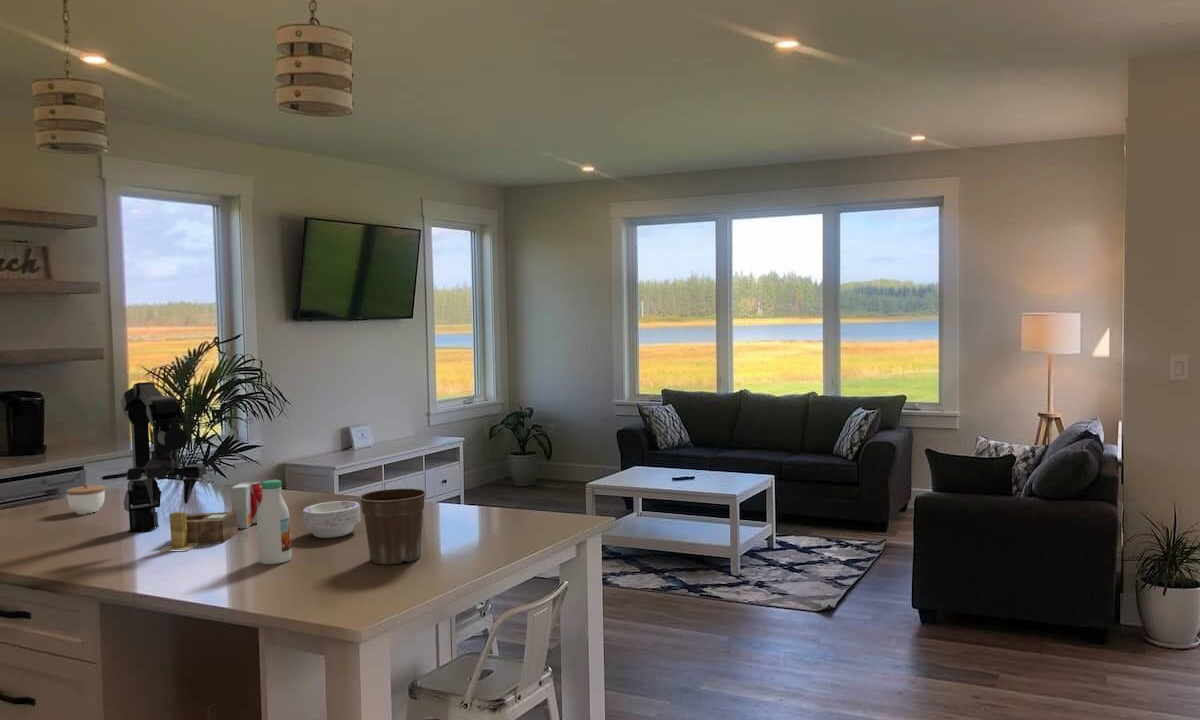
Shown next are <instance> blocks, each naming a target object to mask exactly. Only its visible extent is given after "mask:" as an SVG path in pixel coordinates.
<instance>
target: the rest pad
mask: <svg viewBox="0 0 1200 720" xmlns="http://www.w3.org/2000/svg"><path fill="white" fill-rule="evenodd" d="M197 544H198V543H188V545H187V546H186V547H184V548H172V546H171V544H170V545H168V546H166V547H165V548H163V549H161V550H160V552H161V551H171V550H189V549H191V548H192V547H194V546H195V545H197ZM198 545H199V544H198ZM198 545H197V546H198ZM195 547H196V546H195ZM195 547H194V548H195ZM192 549H193V548H192ZM192 549H191V550H192ZM189 551H190V550H189Z"/></svg>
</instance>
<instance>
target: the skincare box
mask: <svg viewBox="0 0 1200 720" xmlns="http://www.w3.org/2000/svg"><path fill="white" fill-rule="evenodd" d="M250 488H251V485H250V484H249V485H242V484H239V483H238V484H236V485H234V486H232V487H231V489H230V494H231V512H236V513H237V530H239V528H240V529H248V528H249V527H251V526H252V518H251V495H250Z"/></svg>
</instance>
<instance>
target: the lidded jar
mask: <svg viewBox="0 0 1200 720" xmlns="http://www.w3.org/2000/svg"><path fill="white" fill-rule="evenodd" d="M105 490H106V487H105V486H104V485H96V484H94V485H93V484H92V485H88V482H86V483H83V485H82V486H77V487H72V488H68V489H67V490H66V497H67V498H66V499H67V502H68V506H69V508H70V510H72V511H73V512H74V513H77V514H76V515H88V514H87V513H91V514H93V513H92V512H96V511H98V512H99V511H100V509H101V508H102V506H103V505H104V502H105V496H106V495H105V492H106V491H105ZM96 513H97V512H96Z"/></svg>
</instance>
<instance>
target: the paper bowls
mask: <svg viewBox="0 0 1200 720" xmlns="http://www.w3.org/2000/svg"><path fill="white" fill-rule="evenodd" d="M361 517H362V516H361V504H360V503H359V502H357V501H351V500H340V501H339V500H337V501H336V500H335V501H329V502H328V501H327V502H321V503H316V504H312V505H309V506H306V507H304V508H303V510H302V520H303V522H302V523H303V527H304V528H305V529H309V531H311V534H312V535H313V536H314V537H316V538H319V539H334V538H340V537H344V536H347V535H349V534H351V533H352V532H353V530H354V528H355V525H357V524H358V523H360V522H361V519H362V518H361Z"/></svg>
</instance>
